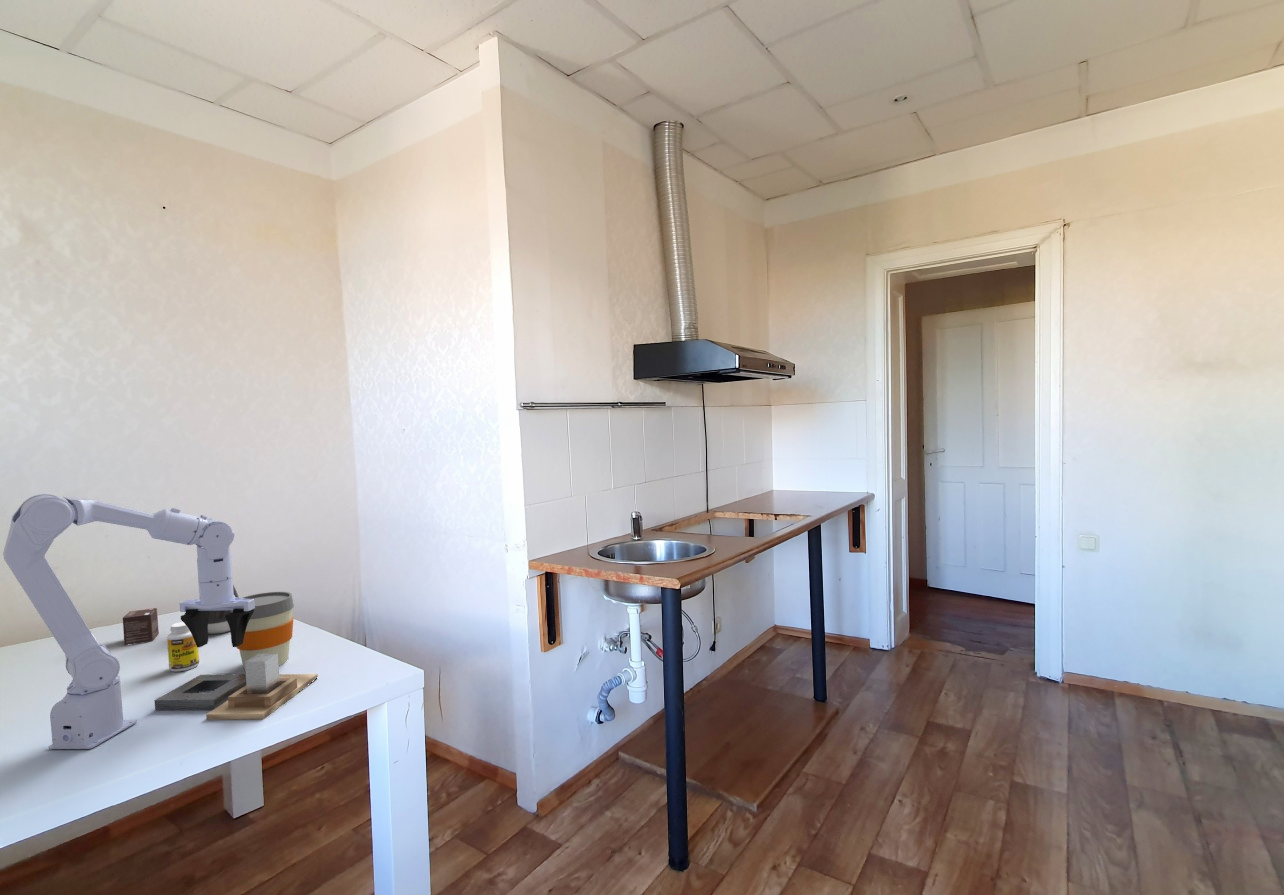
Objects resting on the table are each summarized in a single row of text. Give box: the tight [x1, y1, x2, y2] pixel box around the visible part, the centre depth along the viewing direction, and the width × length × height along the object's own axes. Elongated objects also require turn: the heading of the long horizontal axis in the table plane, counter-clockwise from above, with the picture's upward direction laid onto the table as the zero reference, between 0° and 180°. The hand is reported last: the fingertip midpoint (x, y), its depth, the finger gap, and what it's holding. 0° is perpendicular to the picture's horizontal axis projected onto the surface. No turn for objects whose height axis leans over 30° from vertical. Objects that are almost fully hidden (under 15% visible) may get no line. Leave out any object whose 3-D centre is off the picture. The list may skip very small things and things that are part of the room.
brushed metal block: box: [244, 653, 280, 694], centre depth 124 cm, size 4×4×8 cm
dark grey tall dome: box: [208, 584, 240, 635], centre depth 169 cm, size 10×10×15 cm
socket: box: [154, 673, 247, 711], centre depth 128 cm, size 12×12×2 cm
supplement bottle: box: [166, 621, 200, 673], centre depth 144 cm, size 6×6×10 cm
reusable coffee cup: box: [230, 591, 295, 670], centre depth 145 cm, size 13×13×15 cm
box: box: [122, 607, 160, 646], centre depth 164 cm, size 6×6×7 cm
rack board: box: [205, 673, 319, 721], centre depth 126 cm, size 18×11×3 cm, turn 177°
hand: (220, 645), depth 128 cm, fingers open, 7 cm apart
